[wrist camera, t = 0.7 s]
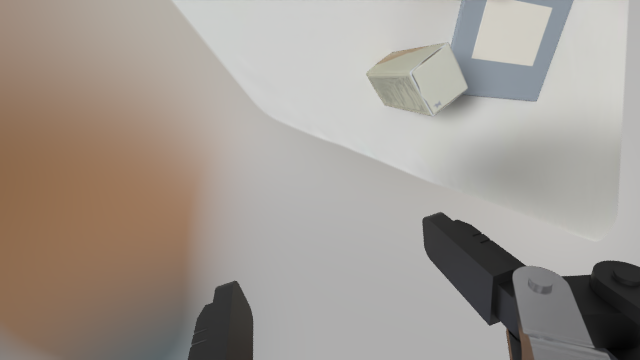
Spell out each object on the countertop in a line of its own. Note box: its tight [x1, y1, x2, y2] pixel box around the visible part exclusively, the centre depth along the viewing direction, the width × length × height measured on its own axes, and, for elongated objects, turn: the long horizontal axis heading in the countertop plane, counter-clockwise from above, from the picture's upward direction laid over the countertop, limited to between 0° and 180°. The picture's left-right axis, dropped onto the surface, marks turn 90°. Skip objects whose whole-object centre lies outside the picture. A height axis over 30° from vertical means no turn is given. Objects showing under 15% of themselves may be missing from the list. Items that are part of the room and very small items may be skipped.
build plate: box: [451, 0, 573, 101], centre depth 35 cm, size 16×16×1 cm
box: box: [366, 43, 468, 116], centre depth 29 cm, size 5×4×11 cm
